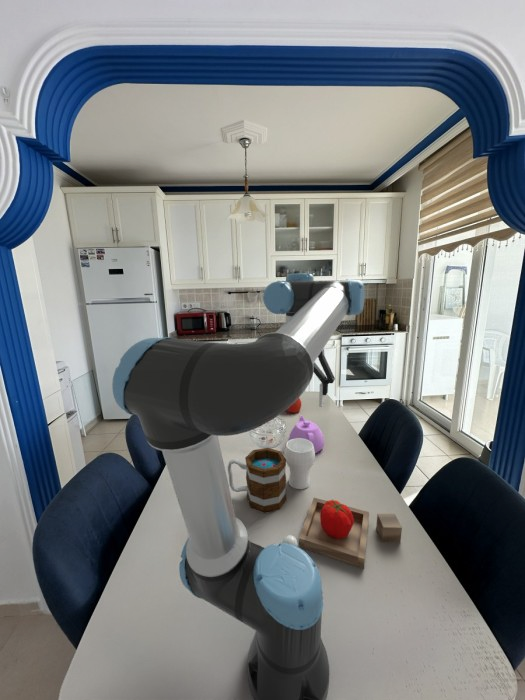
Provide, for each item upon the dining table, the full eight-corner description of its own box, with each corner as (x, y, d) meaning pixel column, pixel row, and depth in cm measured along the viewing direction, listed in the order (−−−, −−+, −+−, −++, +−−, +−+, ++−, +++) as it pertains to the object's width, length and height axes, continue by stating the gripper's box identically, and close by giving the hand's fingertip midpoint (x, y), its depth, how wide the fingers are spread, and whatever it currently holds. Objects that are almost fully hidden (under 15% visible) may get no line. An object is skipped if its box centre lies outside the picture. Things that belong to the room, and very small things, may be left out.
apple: (280, 408, 173) (280, 391, 171) (297, 406, 176) (297, 389, 174) (287, 415, 164) (287, 397, 161) (304, 412, 167) (304, 395, 164)
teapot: (331, 459, 123) (332, 432, 120) (293, 461, 121) (294, 434, 119) (316, 433, 144) (317, 409, 142) (284, 435, 143) (284, 411, 140)
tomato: (329, 549, 80) (330, 522, 79) (312, 521, 90) (313, 496, 88) (359, 540, 83) (361, 515, 81) (340, 514, 92) (341, 490, 91)
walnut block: (400, 542, 83) (402, 527, 82) (382, 542, 83) (383, 527, 82) (393, 528, 88) (394, 513, 87) (376, 528, 88) (377, 513, 87)
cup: (313, 493, 103) (314, 454, 99) (282, 490, 105) (282, 451, 101) (314, 474, 113) (315, 438, 110) (286, 471, 115) (286, 436, 112)
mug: (287, 486, 107) (287, 448, 103) (285, 515, 94) (285, 472, 90) (233, 483, 109) (231, 445, 106) (224, 510, 96) (222, 468, 93)
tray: (363, 568, 76) (364, 559, 75) (299, 547, 82) (299, 538, 81) (368, 520, 91) (369, 512, 90) (313, 505, 97) (313, 497, 97)
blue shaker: (295, 576, 74) (295, 546, 72) (280, 570, 75) (279, 541, 74) (299, 562, 78) (300, 534, 76) (285, 557, 79) (285, 529, 77)
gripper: (347, 330, 82) (343, 403, 87) (263, 326, 91) (264, 392, 96) (342, 335, 75) (339, 413, 80) (252, 330, 85) (254, 400, 89)
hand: (298, 402), depth 88 cm, fingers open, 13 cm apart
